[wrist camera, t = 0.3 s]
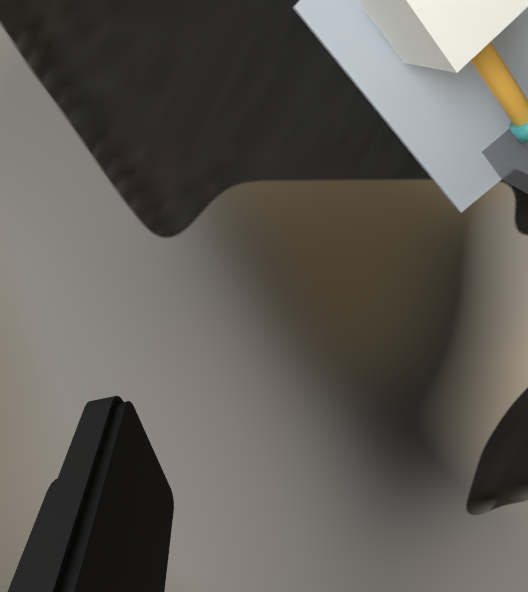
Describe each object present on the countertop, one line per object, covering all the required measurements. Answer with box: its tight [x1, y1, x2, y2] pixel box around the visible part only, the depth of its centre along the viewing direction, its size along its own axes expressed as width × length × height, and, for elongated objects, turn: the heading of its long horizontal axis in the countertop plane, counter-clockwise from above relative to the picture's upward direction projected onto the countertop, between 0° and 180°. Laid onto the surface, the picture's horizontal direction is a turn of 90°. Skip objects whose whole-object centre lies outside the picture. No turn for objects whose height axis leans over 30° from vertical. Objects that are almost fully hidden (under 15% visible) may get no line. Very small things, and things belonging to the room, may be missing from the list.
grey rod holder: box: [293, 0, 528, 212], centre depth 30 cm, size 12×22×8 cm, turn 45°
